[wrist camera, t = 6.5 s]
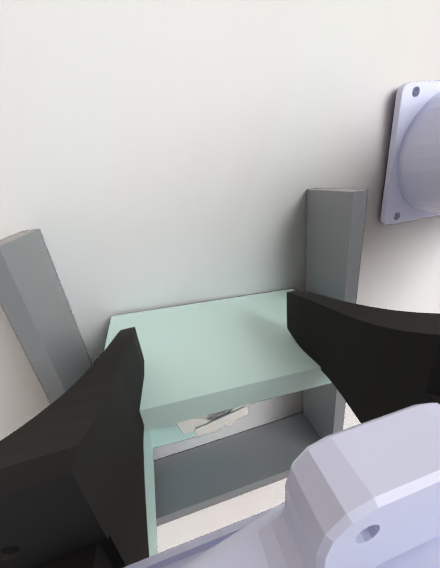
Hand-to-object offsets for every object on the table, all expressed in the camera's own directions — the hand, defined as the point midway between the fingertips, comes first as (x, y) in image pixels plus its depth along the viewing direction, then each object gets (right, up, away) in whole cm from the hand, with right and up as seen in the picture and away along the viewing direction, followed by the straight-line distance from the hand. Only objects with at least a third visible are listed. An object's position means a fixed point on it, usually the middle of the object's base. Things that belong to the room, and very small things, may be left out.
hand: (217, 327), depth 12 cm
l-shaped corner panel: (0, -5, +7) cm, 9 cm away
